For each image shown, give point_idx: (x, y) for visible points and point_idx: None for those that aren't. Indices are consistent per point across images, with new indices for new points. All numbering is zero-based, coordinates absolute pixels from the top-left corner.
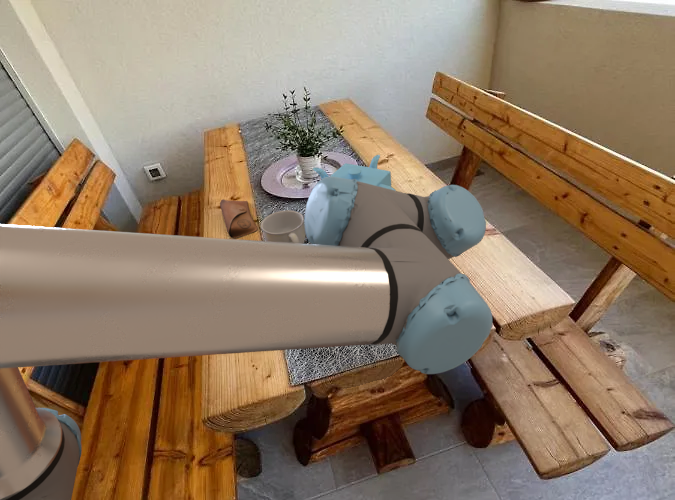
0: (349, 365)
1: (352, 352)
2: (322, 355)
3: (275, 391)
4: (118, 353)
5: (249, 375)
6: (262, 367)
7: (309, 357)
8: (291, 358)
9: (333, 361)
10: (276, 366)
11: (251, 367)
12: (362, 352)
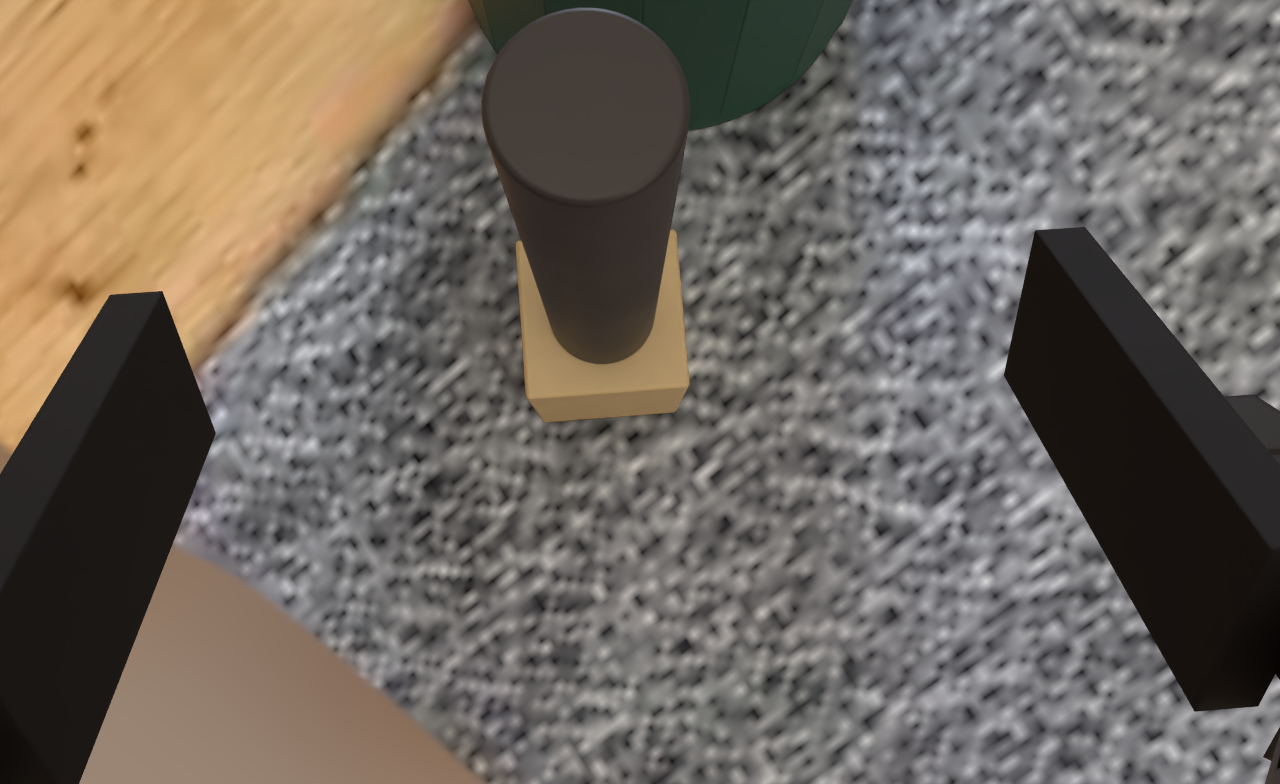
0: (467, 748)
1: (573, 696)
2: (427, 514)
3: (8, 422)
4: None
5: (8, 168)
6: (108, 200)
7: (360, 440)
8: (281, 330)
9: (430, 621)
10: (169, 282)
11: (65, 131)
12: (615, 763)
